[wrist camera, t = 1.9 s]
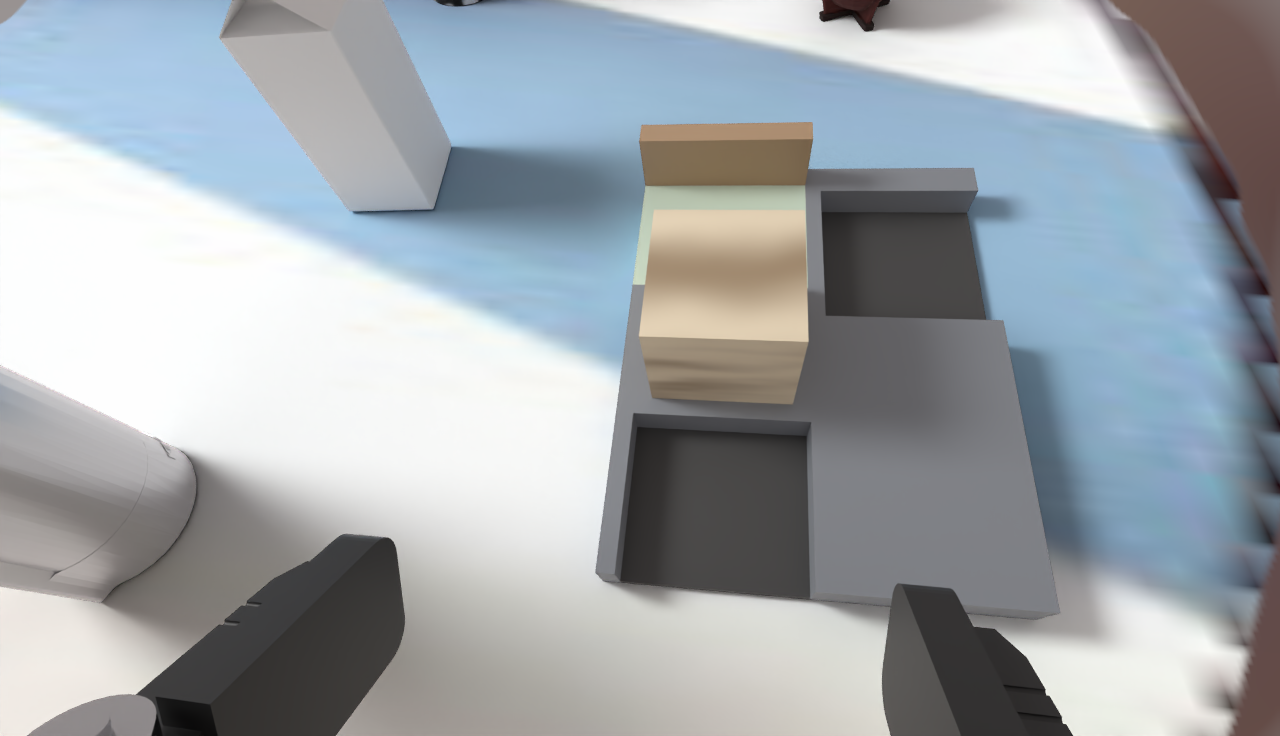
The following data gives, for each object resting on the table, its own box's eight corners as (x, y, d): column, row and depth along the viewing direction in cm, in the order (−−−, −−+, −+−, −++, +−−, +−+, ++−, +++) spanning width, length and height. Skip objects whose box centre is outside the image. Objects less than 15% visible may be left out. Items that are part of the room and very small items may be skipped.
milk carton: (453, 146, 52) (329, -115, 36) (434, 211, 49) (288, -43, 32) (372, 149, 53) (215, -104, 36) (349, 213, 50) (164, -32, 33)
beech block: (792, 404, 35) (808, 341, 29) (652, 398, 37) (638, 336, 30) (791, 287, 39) (805, 209, 33) (663, 285, 40) (654, 209, 34)
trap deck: (1036, 619, 31) (1107, 601, 26) (603, 580, 34) (580, 556, 29) (961, 194, 44) (997, 119, 38) (650, 194, 47) (641, 125, 42)
